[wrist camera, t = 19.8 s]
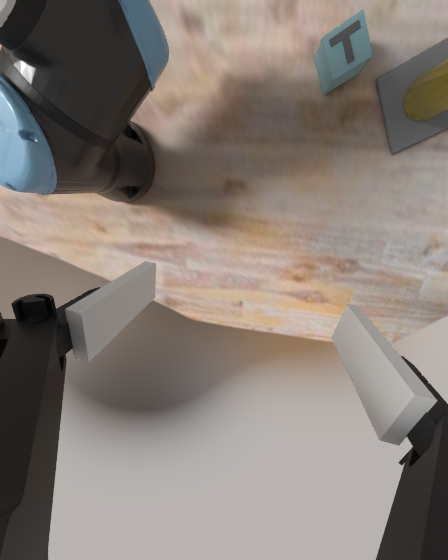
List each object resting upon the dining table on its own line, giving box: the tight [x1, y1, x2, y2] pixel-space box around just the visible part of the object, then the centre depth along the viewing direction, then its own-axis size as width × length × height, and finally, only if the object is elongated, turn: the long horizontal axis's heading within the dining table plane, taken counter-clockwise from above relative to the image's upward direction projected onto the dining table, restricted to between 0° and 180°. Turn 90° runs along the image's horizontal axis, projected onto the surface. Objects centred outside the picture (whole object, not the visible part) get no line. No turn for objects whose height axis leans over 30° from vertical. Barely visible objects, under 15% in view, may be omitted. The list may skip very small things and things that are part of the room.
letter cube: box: [314, 10, 373, 95], centre depth 30 cm, size 5×5×5 cm
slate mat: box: [376, 38, 448, 154], centre depth 31 cm, size 11×11×1 cm
